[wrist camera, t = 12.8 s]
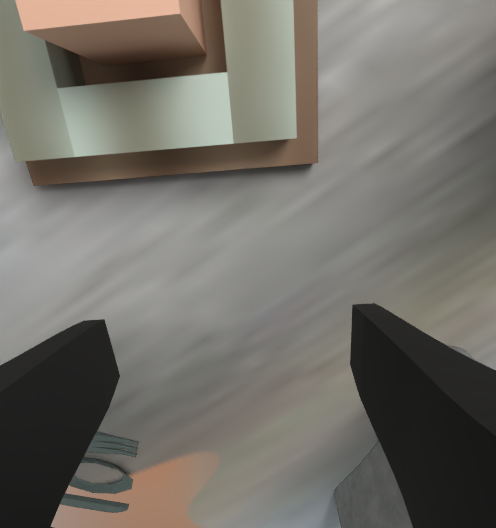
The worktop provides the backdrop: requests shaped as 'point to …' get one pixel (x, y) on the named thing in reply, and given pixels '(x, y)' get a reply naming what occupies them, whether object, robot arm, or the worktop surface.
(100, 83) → the notched board
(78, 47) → the block
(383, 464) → the hip flask
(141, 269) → the worktop surface
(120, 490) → the cutlery set
